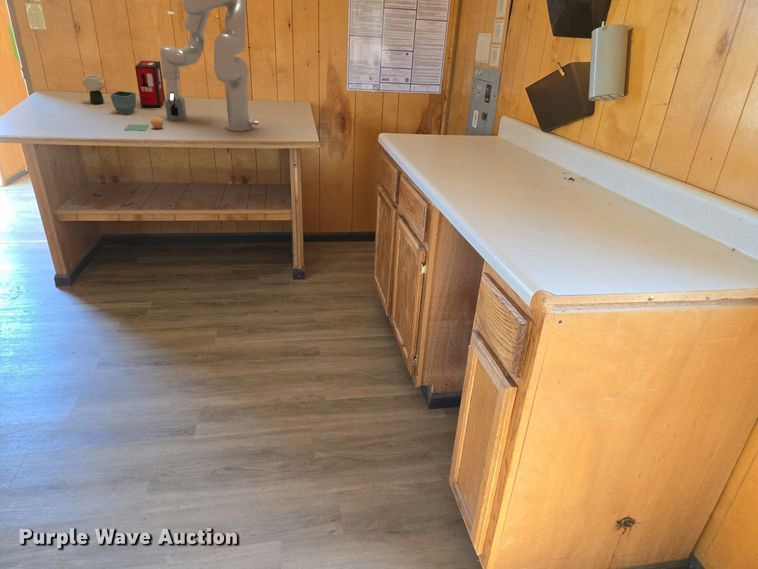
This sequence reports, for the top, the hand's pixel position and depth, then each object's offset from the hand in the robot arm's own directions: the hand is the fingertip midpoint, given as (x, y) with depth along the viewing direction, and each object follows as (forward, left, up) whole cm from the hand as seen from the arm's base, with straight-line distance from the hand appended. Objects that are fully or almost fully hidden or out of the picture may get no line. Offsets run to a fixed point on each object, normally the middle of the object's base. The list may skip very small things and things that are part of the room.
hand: (176, 112), depth 256 cm
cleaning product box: (+15, -25, -3) cm, 29 cm away
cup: (0, 0, -3) cm, 3 cm away
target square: (+15, +18, -3) cm, 24 cm away
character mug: (+42, -24, -3) cm, 48 cm away
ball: (+6, +18, 0) cm, 19 cm away
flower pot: (+25, -8, -3) cm, 26 cm away
